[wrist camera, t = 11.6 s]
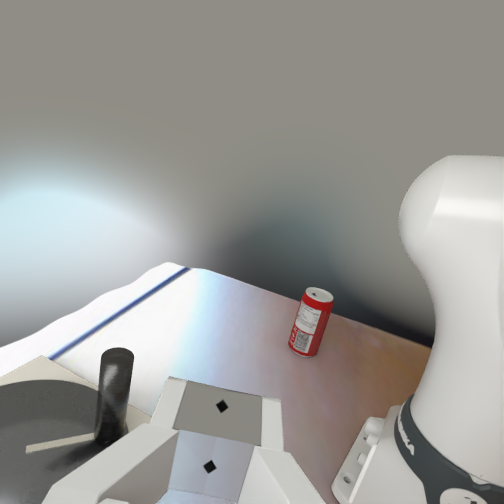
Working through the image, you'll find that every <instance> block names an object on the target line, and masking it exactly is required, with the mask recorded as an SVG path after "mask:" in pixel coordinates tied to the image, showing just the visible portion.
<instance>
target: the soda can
mask: <svg viewBox="0 0 504 504" xmlns="http://www.w3.org/2000/svg"><path fill="white" fill-rule="evenodd" d="M332 307H333V296H332V295H331V294H330V293H329V292H327V291H325V290H323V289H319V288H313V287H311V288H307V290H306V292H305V294H304V295H303V296H302V299H301V302H300V306H299V309H298V312H297V316H296V319H295V322H294V326H293V329H292V332H291V336H290V339H289V342H288V345H289V347H290V348H291V350H292V351H293V352H294V353H296V354H297V355H299V356H302V357H311V356H314V355H316V354H317V351H318V348H319V345H320V342H321V339H322V336H323V334H324V331H325V328H326V325H327V322H328V319H329V316H330V313H331V310H332Z"/></svg>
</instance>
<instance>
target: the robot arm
mask: <svg viewBox="0 0 504 504" xmlns="http://www.w3.org/2000/svg"><path fill="white" fill-rule="evenodd" d="M399 233H400V239H401V242H402V245H403V247H404V250H405V252H406V254H407V255H408V257H409V259H410V260H411V261H412V263H413V264H414V265H415V266H416V268H417V269H418V271H419V272H420V274H421V275H422V277H423V279H424V281H425V283H426V285H427V287H428V289H429V292H430V295H431V298H432V301H433V305H434V310H435V319H436V332H435V340H434V344H433V348H432V351H431V354H430V357H429V360H428V363H427V365H426V368H425V371H424V374H423V376H422V378H421V381H420V383H419V386H418V388H417V390H416V392H415V393H414V394H412V395H411V396H410V397H409V398H408V399H407V400H406V401H405V402H404V404H403V405H395V406H392V407H391V408H390V409H389V412H388V414H387V416H386V418H385V419H383V418H376V417H371V416H370V417H369V418H368V419H367V420H366V422H365V424H364V425H363V427H362V429H361V431H360V433H359V435H358V436H357V438H356V440H355V442H354V444H353V446H352V448H351V449H350V451H349V453H348V455H347V457H346V459H345V461H344V462H343V464H342V466H341V468H340V470H339V472H338V474H337V476H336V477H335V479H334V481H333V483H332V486H331V488H332V492H333V494H334V496H335V497H336V499H337V500H338V501H339V503H340V504H504V157H497V156H476V155H475V156H473V155H449V156H447V157H445V158H443V159H441V160H439V161H437V162H436V163H434V164H433V165H431V166H430V167H428V168H427V169H426V170H425V171H424V172H423V173H421V174H420V175H419V176H418V178H417V179H416V180H415V181H414V182H413V184H412V185H411V186H410V188H409V190H408V191H407V193H406V195H405V197H404V200H403V202H402V205H401V209H400V214H399ZM345 481H346V482H348V483H346V482H345ZM168 489H172V490H178V491H184V492H190V493H197V494H203V495H207V496H211V497H216V498H220V499H225V500H229V501H233V502H238V504H326V503H325V502H324V500H323V499H322V498H321V496H320V495H319V493H318V492H317V490H316V489H315V488H314V486H313V485H312V483H311V482H310V481H309V479H308V478H307V476H306V475H305V473H304V472H303V471H302V469H301V468H300V466H299V465H298V463H297V462H296V461H295V459H294V458H293V456H292V455H291V454H290V453H289V452H284V440H283V422H282V404H281V401H280V399H276V398H271V397H265V396H258V395H253V394H248V393H243V392H238V391H233V390H228V389H223V388H219V387H215V386H210V385H206V384H202V383H198V382H193V381H189V380H188V381H187V380H183V379H179V378H174V377H170V376H169V377H168V379H167V380H166V382H165V385H164V387H163V390H162V393H161V395H160V398H159V400H158V403H157V405H156V408H155V411H154V413H153V416H152V418H151V421H150V423H149V424H145V423H143V424H141V425H140V426H138V427H137V428H135V429H134V430H133V431H131V432H130V433H128V434H127V435H125V436H124V437H122V438H121V439H119V440H118V441H116V442H115V443H114V444H112V445H111V446H109V447H108V448H106V449H105V450H103V451H102V452H100V453H99V454H97V455H96V456H94V457H93V458H92V459H90V460H89V461H87V462H86V463H84V464H83V465H81V466H80V467H78V468H77V469H75V470H74V471H73V472H71V473H70V474H68V475H67V476H65V477H64V478H62V479H61V480H59V481H58V482H56V483H55V484H54V485H52V487H51V489H50V490H49V492H48V494H47V495H46V497H45V499H44V500H43V502H42V504H156V503H157V502H158V501H159V500H160V498H161V497H162V496H163V495H164V494H165V493H166V492H167V490H168Z"/></svg>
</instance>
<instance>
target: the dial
mask: <svg viewBox="0 0 504 504" xmlns="http://www.w3.org/2000/svg"><path fill="white" fill-rule="evenodd" d="M133 362H134V355H133V353H132V352H131V351H130V350H128V349H125V348H111V349H108V350H106V351H105V352H104V353H103V354H102V356H101V365H100V376H99V386H98V391H97V390H95V389H93V388H90V387H88V386H85V385H82V384H78V383H75V382H69V381H64V380H28V381H21V382H15V383H10V384H6V385H1V386H0V504H42V502H43V500H44V499H45V497H46V495H47V494H48V492H49V490H50V489H51V487H52V485H54V484H55V483H56V482H58V481H59V480H61V479H62V478H64V477H65V476H67V475H68V474H70V473H71V472H73V471H74V470H75V469H77V468H78V467H80V466H81V465H83V464H84V463H86V462H87V461H89V460H90V459H92V458H93V457H94V456H96V455H97V454H99V453H100V452H102V451H103V450H105V449H106V448H108V447H109V446H111V445H112V444H114V443H115V442H116V441H118V440H119V439H121V438H122V437H124V436H125V435H127V434H128V433H129V430H128V427H127V423H126V414H127V407H128V399H129V392H130V384H131V377H132V369H133Z"/></svg>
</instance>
